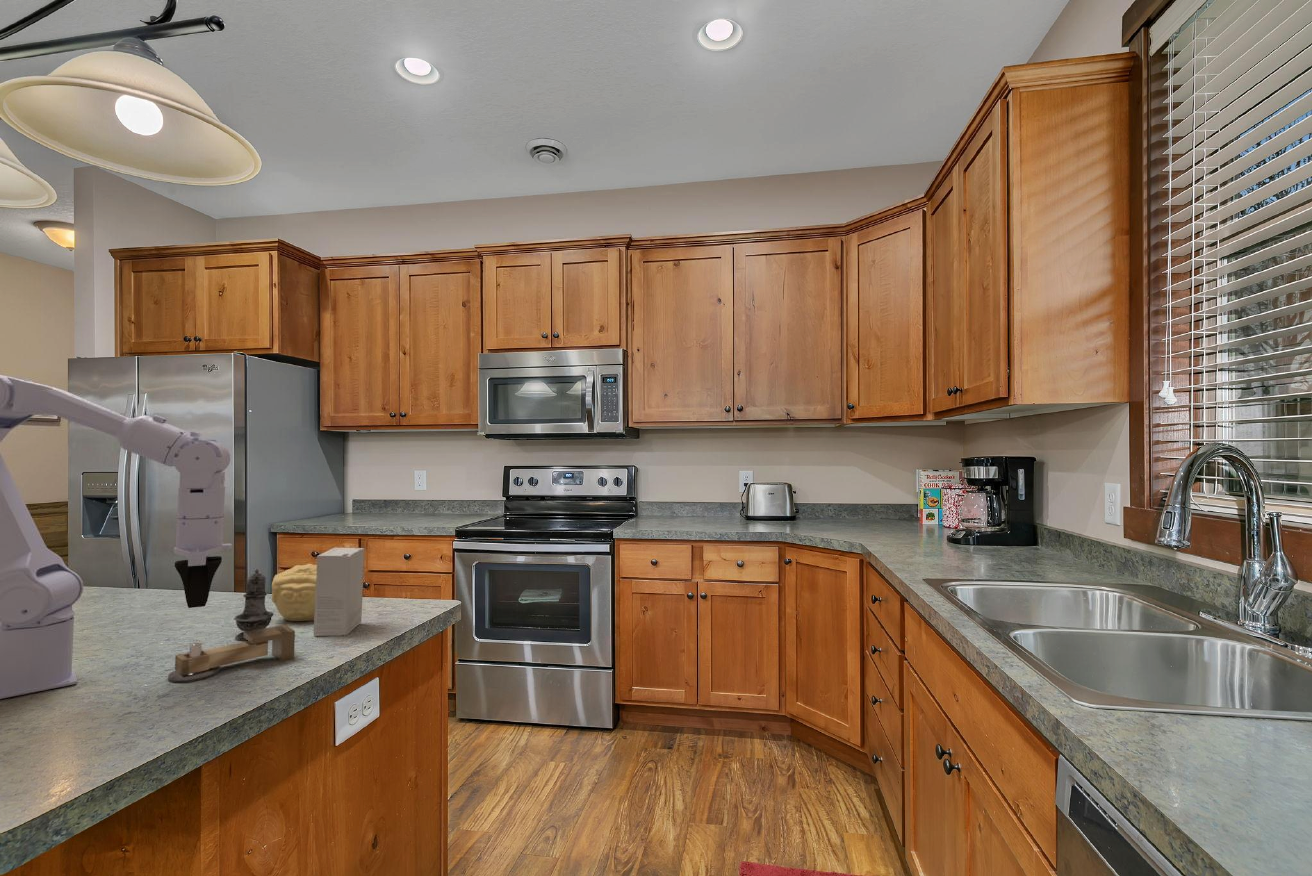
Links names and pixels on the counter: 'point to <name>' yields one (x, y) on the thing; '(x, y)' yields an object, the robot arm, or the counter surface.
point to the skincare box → (338, 591)
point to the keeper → (275, 640)
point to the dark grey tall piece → (254, 606)
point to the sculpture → (295, 592)
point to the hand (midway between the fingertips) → (196, 606)
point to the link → (219, 656)
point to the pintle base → (178, 678)
